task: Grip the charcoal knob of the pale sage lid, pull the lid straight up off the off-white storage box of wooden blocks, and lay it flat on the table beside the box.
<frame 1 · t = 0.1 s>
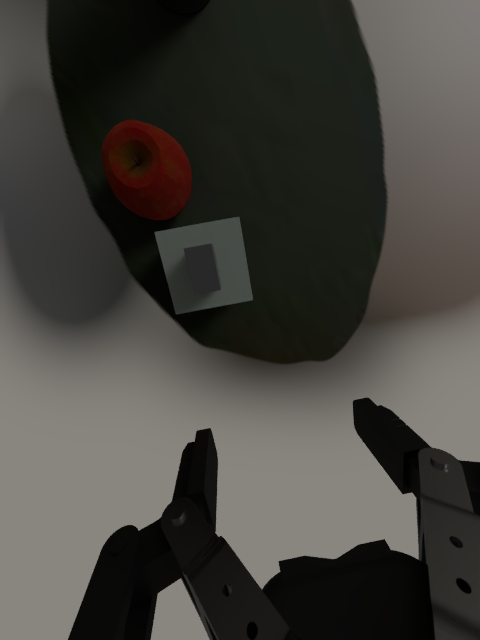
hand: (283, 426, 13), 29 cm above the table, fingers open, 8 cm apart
apple: (159, 184, 35), on the table
lid: (207, 267, 32), point 6 cm above the table, touching storage box
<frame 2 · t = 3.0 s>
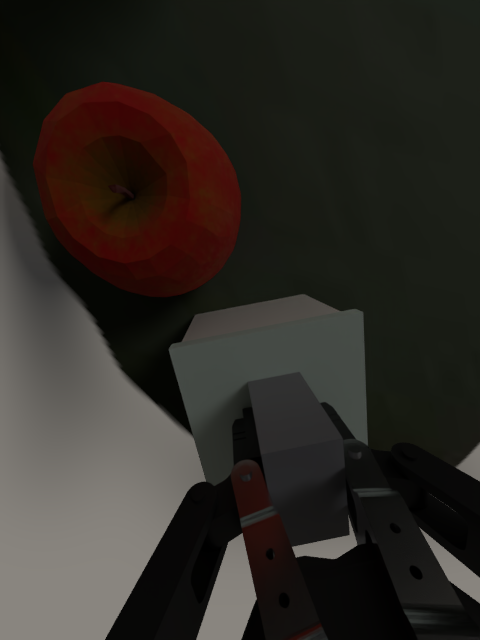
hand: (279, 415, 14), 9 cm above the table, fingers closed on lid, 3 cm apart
storage box: (258, 354, 22), on the table
apple: (173, 220, 19), on the table
lid: (271, 391, 16), point 7 cm above the table, touching gripper, storage box
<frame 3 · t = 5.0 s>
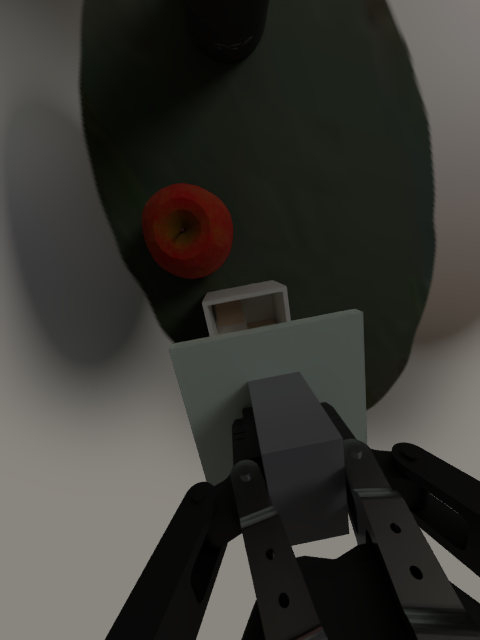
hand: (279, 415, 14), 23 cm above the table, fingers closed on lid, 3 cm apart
storage box: (245, 318, 36), on the table
apple: (194, 236, 33), on the table
lid: (271, 391, 16), point 21 cm above the table, touching gripper
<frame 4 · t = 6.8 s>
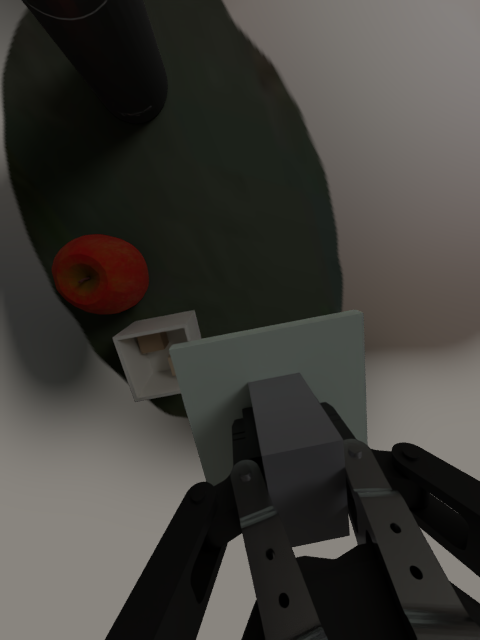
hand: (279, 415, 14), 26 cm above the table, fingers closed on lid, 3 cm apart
storage box: (172, 343, 40), on the table
apple: (120, 272, 36), on the table
lid: (271, 392, 16), point 24 cm above the table, touching gripper
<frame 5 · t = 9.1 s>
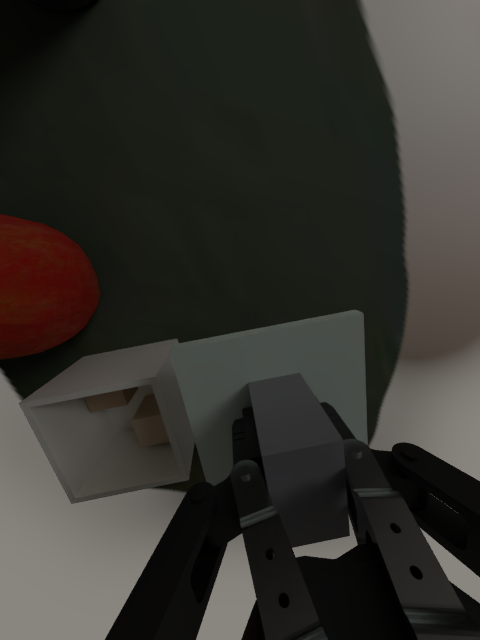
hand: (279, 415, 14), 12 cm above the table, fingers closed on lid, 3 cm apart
storage box: (144, 388, 26), on the table
apple: (55, 281, 22), on the table
lid: (271, 392, 16), point 10 cm above the table, touching gripper
when the fingers open (4 cm above the table, at t = 11.0 s): lid drops 2 cm, on the table.
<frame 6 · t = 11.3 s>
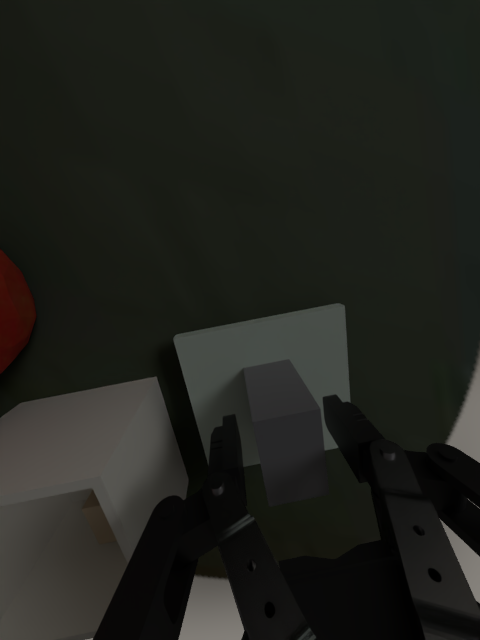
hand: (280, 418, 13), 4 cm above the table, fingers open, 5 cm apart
storage box: (111, 444, 18), on the table
lid: (265, 379, 18), on the table
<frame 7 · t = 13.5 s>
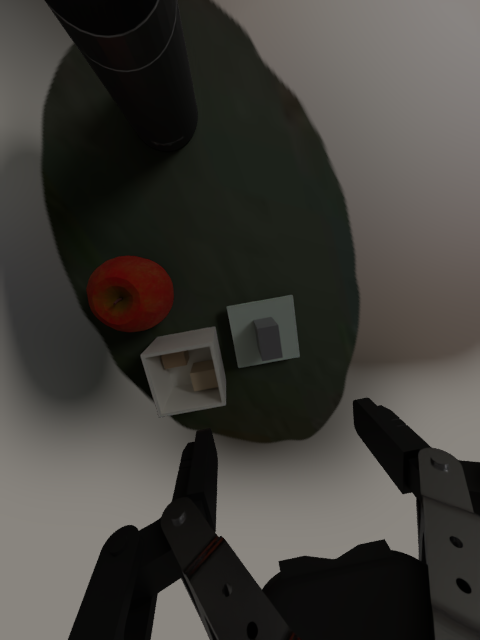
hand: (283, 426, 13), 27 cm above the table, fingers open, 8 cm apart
storage box: (192, 358, 41), on the table
apple: (145, 290, 37), on the table
lid: (262, 329, 40), on the table
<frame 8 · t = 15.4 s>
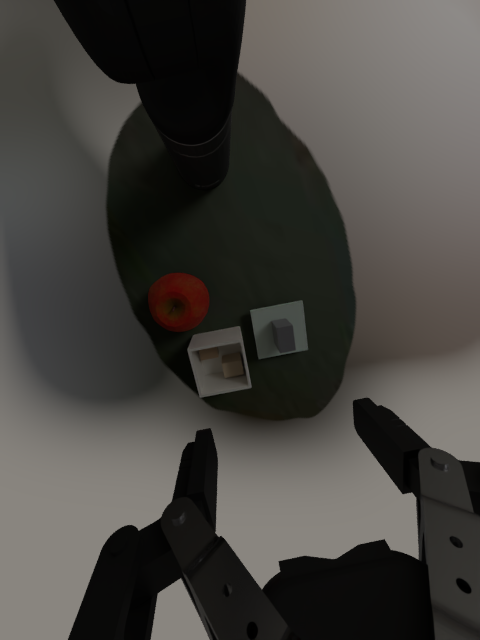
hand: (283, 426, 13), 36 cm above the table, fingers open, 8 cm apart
storage box: (221, 351, 50), on the table
apple: (184, 297, 47), on the table
lid: (277, 327, 49), on the table
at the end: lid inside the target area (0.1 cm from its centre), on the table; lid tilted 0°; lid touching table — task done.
